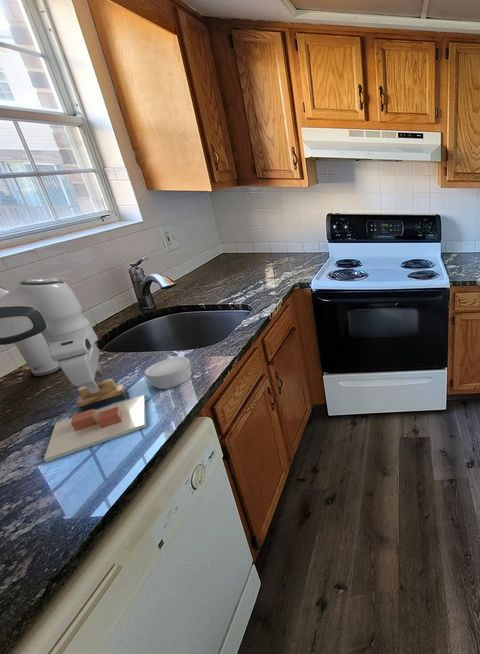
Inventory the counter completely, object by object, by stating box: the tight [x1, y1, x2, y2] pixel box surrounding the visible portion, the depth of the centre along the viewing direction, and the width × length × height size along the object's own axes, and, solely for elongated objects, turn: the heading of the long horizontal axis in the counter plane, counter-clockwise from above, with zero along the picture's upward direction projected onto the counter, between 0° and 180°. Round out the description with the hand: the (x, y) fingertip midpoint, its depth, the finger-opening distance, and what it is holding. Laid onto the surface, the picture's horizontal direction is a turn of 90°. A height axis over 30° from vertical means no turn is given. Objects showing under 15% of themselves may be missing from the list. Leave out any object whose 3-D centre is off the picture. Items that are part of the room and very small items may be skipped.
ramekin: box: [143, 356, 192, 390], centre depth 109 cm, size 11×11×5 cm
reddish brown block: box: [71, 408, 98, 431], centre depth 91 cm, size 4×4×2 cm
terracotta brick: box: [97, 406, 122, 428], centre depth 92 cm, size 4×4×2 cm
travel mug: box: [14, 333, 61, 377], centre depth 114 cm, size 6×7×20 cm
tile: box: [43, 394, 147, 463], centre depth 92 cm, size 18×16×1 cm
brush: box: [75, 377, 127, 412], centre depth 100 cm, size 10×4×6 cm, turn 128°
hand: (97, 383), depth 99 cm, fingers open, 8 cm apart
